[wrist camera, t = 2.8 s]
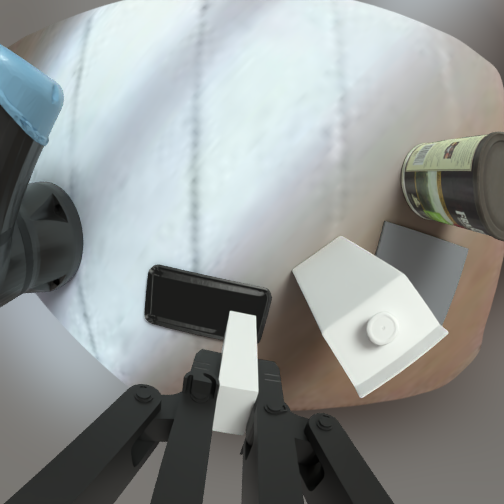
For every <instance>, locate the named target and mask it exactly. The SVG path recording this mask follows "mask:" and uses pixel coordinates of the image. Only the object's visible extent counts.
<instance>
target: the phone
mask: <svg viewBox="0 0 504 504" xmlns="http://www.w3.org/2000/svg"><path fill="white" fill-rule="evenodd" d="M271 300H272V297H271V293H270V291H269V290H268V289H267V288H264V287H259V286H254V285H249V284H244V283H240V282H235V281H230V280H226V279H221V278H216V277H212V276H207V275H203V274H198V273H194V272H189V271H185V270H180V269H176V268H172V267H167V266H163V265H154V266H153V267H152V268H151V269H150V270H149V272H148V280H147V290H146V301H145V318H146V319H147V321H148V322H150V323H152V324H156V325H160V326H163V327H167V328H171V329H175V330H179V331H184V332H188V333H192V334H197V335H201V336H206V337H210V338H215V339H220V340H224V337H225V332H226V327H227V322H228V318H229V313H230V311H234V312H239V313H244V314H249V315H254V316H256V330H257V344H258V343H259V342H260V340H261V337H262V333H263V330H264V326H265V323H266V319H267V315H268V312H269V308H270V304H271Z"/></svg>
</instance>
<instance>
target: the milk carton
mask: <svg viewBox="0 0 504 504" xmlns="http://www.w3.org/2000/svg"><path fill="white" fill-rule="evenodd" d="M292 272H293V274H294V276H295V278H296V280H297V282H298V284H299V286H300V288H301V290H302V293H303V295H304V297H305V299H306V301H307V303H308V305H309V307H310V309H311V311H312V314H313V316H314V318H315V320H316V322H317V324H318V326H319V328H320V331H321V333H322V335H323V336H324V338H325V340H326V341H327V343H328V345H329V346H330V348H331V349H332V351H333V353H334V354H335V356H336V357H337V359H338V361H339V362H340V364H341V365H342V367H343V369H344V370H345V372H346V374H347V375H348V377H349V378H350V380H351V382H352V383H353V385H354V387H355V388H356V391H357V393H358V395H359V397H360V398H363V397H364V396H366V395H367V394H369V393H371V392H372V391H374V390H375V389H377V388H378V387H380V386H381V385H383V384H384V383H386V382H387V381H389V380H390V379H391V378H393V377H394V376H396V375H397V374H398V373H400V372H401V371H403V370H404V369H405V368H407V367H408V366H409V365H411V364H412V363H413V362H415V361H416V360H417V359H418V358H420V357H421V356H422V355H423V354H425V353H426V352H427V351H428V350H430V349H431V348H432V347H433V346H434V345H436V344H437V343H438V342H439V341H440V340H441V339H443V338H444V337H445V336H446V335H447V334H448V331H447V330H446V329H445V328H443V327H442V326H441V325H440V324H439V322H438V321H437V319H436V318H435V316H434V315H433V313H432V312H431V310H430V309H429V307H428V306H427V305H426V303H425V302H424V300H423V299H422V297H421V296H420V295H419V293H418V292H417V290H416V289H415V288H414V286H413V285H412V283H411V282H410V281H409V279H408V278H407V277H406V275H405V274H403V273H402V272H400V271H399V270H397V269H396V268H394V267H392V266H391V265H389V264H388V263H386V262H384V261H383V260H381V259H380V258H378V257H376V256H375V255H373V254H371V253H370V252H368V251H366V250H365V249H363V248H361V247H360V246H358V245H356V244H355V243H353V242H351V241H349V240H348V239H346V238H344V237H343V236H339V237H337V238H336V239H335V240H333V241H332V242H330V243H329V244H328V245H326V246H325V247H323V248H322V249H321V250H319V251H318V252H316V253H315V254H314V255H312V256H311V257H309V258H308V259H307V260H305V261H304V262H302V263H301V264H299V265H298V266H297V267H295V268H294V269H293V270H292Z"/></svg>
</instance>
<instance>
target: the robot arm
mask: <svg viewBox="0 0 504 504" xmlns="http://www.w3.org/2000/svg"><path fill="white" fill-rule="evenodd" d="M63 102H64V94H63V90H62V88H61V87H60V85H59V84H58V83H56V82H55V81H54V80H52V79H51V78H50V77H48V76H47V75H45V74H44V73H43V72H41V71H40V70H38V69H37V68H35V67H34V66H32V65H31V64H30V63H28V62H27V61H25V60H24V59H22V58H21V57H19V56H18V55H16V54H15V53H13V52H12V51H10V50H9V49H7V48H6V47H4V46H3V45H1V44H0V307H1V306H3V305H5V304H6V303H8V302H9V301H11V300H13V299H15V298H16V297H18V296H19V295H21V294H23V293H35V292H49V291H53V290H55V289H58V288H59V287H61V286H62V285H64V284H66V283H67V282H68V281H70V280H71V278H72V277H73V276H74V275H75V273H76V271H77V269H78V267H79V264H80V261H81V257H82V251H83V233H82V227H81V222H80V218H79V215H78V212H77V210H76V208H75V206H74V204H73V202H72V200H71V199H70V197H69V196H68V195H67V194H66V192H65V191H64V190H62V189H61V188H60V187H58V186H57V185H55V184H53V183H49V182H35V183H30V184H28V183H29V180H30V178H31V175H32V173H33V170H34V168H35V165H36V163H37V161H38V158H39V156H40V154H41V152H42V149H43V147H44V146H46V145H47V143H48V141H49V138H48V136H49V134H50V132H51V130H52V127H53V125H54V123H55V121H56V119H57V117H58V115H59V113H60V111H61V108H62V106H63ZM212 430H213V431H219V432H225V433H231V434H238V435H244V434H245V431H246V438H245V441H244V444H243V447H242V449H241V453H240V454H241V455H242V454H243V473H242V504H304V499H303V495H304V497H305V499H306V502H307V503H308V504H394V503H393V501H392V500H391V498H390V497H389V496H388V494H387V493H386V491H385V490H384V488H383V487H382V485H381V484H380V483H379V481H378V480H377V478H376V477H375V475H374V474H373V472H372V471H371V469H370V468H369V466H368V465H367V464H366V462H365V461H364V459H363V458H362V456H361V455H360V453H359V452H358V450H357V449H356V447H355V446H354V444H353V443H352V441H351V440H350V438H349V437H348V435H347V434H346V432H345V431H344V429H343V428H342V426H341V425H340V423H339V422H338V421H337V420H336V418H334V417H332V416H331V415H328V414H324V413H317V414H314V415H312V416H311V417H310V418H309V419H307V418H304V417H301V416H298V415H296V414H294V413H292V412H290V409H289V407H288V405H287V404H286V403H285V402H284V399H283V392H282V385H281V378H280V371H279V368H278V366H277V365H276V364H275V362H273V361H266V360H260V359H257V330H256V316H254V315H249V314H244V313H239V312H234V311H230V313H229V318H228V322H227V327H226V332H225V337H224V342H223V347H222V352H221V353H218V352H213V351H209V350H204V349H202V350H200V351H199V352H198V353H197V354H196V356H195V359H194V362H193V365H192V369H191V371H190V372H188V373H187V374H186V375H185V376H184V381H183V390H182V392H180V393H178V394H174V395H161V394H160V393H159V391H158V390H157V389H155V388H154V387H152V386H149V385H145V384H138V385H134V386H132V387H130V388H129V389H128V390H127V391H126V392H125V393H123V394H122V395H121V396H120V397H119V398H118V399H117V400H116V401H115V402H114V403H113V404H112V405H111V406H110V407H109V408H108V409H107V410H106V411H105V412H103V413H102V414H101V415H100V416H99V417H98V418H97V419H96V420H95V421H94V422H93V423H92V424H91V425H90V426H89V427H87V428H86V429H85V430H84V431H83V432H82V433H81V434H80V435H79V436H78V437H77V438H76V439H75V440H74V441H73V442H71V443H70V444H69V445H68V446H67V447H66V448H65V449H64V450H63V451H62V452H60V453H59V454H58V455H57V456H56V457H55V458H54V459H53V460H52V461H51V462H50V463H49V464H47V465H46V466H45V467H44V468H43V469H42V470H41V471H40V472H39V473H38V474H37V475H35V476H34V477H33V478H32V479H31V480H30V481H29V482H28V483H27V484H25V485H24V486H23V487H22V488H21V489H20V490H19V491H18V492H16V493H15V494H14V495H13V496H12V497H11V498H10V499H9V500H8V501H6V502H5V503H4V504H113V503H114V502H115V501H116V500H117V498H118V497H119V496H120V494H121V493H122V492H123V490H124V489H125V488H126V486H127V485H128V484H129V483H130V481H131V480H132V479H133V477H134V476H135V475H136V473H137V472H138V471H139V469H140V468H141V467H142V465H143V464H144V463H145V461H146V460H147V459H148V457H149V456H150V455H151V453H152V452H153V451H154V449H155V448H156V447H157V445H158V443H159V442H160V441H161V442H165V441H166V442H167V446H166V449H165V452H164V456H163V459H162V463H161V467H160V470H159V474H158V478H157V481H156V484H155V488H154V492H153V496H152V499H151V503H150V504H202V502H203V494H204V487H205V480H206V472H207V465H208V457H209V449H210V443H211V436H212Z"/></svg>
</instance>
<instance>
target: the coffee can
mask: <svg viewBox="0 0 504 504" xmlns="http://www.w3.org/2000/svg"><path fill="white" fill-rule="evenodd" d="M401 180H402V189H403V193H404V196H405V198H406V201H407V203H408V204H409V206H410V207H411V209H412V210H413V211H414V212H415V213H416V214H417V215H419V216H420V217H422V218H424V219H427V220H434V221H438V222H442V223H446V224H450V225H454V226H457V227H461V228H465V229H468V230H472V231H475V232H479V233H482V234H486V235H489V236H492V237H493V238H495V239H498V240H501V241H504V132H493V133H490V134H488V135H479V136H471V137H464V138H457V139H450V140H444V141H437V142H432V143H423V144H419V145H417V146H415V147H414V148H413V149H412V150H411V151H410V152H409V154H408V155H407V157H406V159H405V161H404V164H403V168H402V177H401Z"/></svg>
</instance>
